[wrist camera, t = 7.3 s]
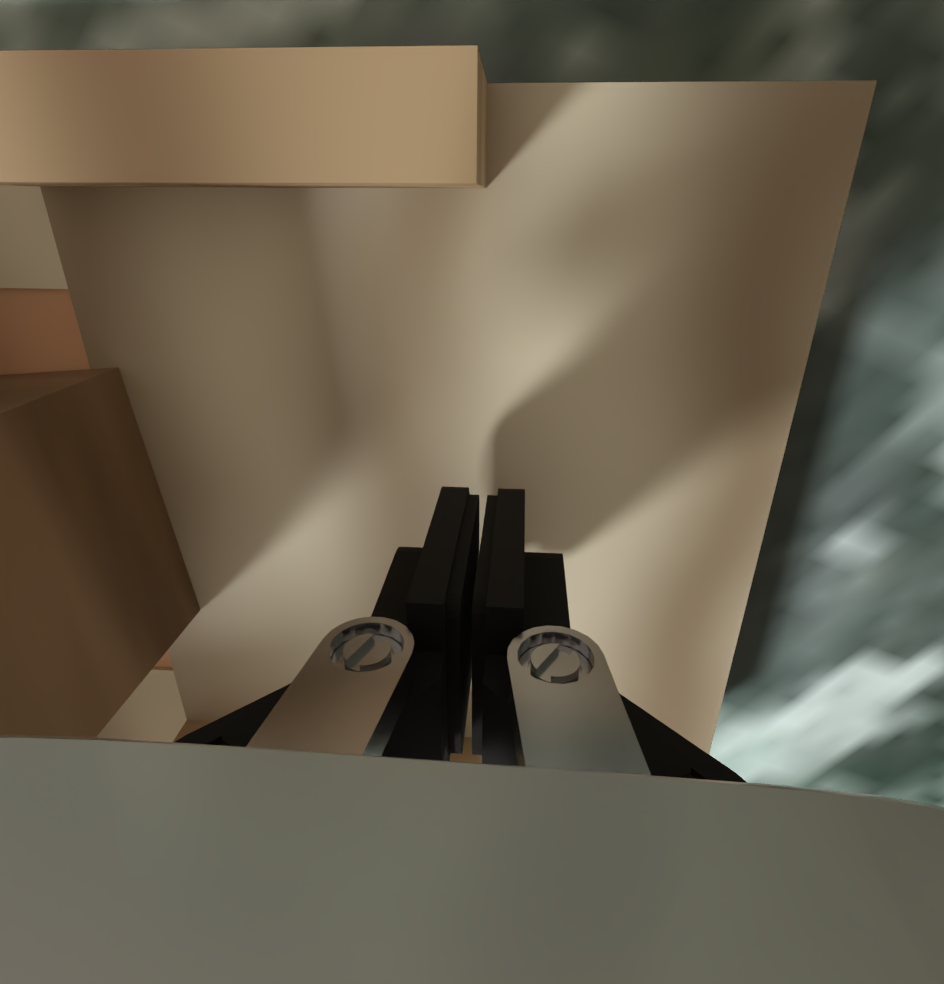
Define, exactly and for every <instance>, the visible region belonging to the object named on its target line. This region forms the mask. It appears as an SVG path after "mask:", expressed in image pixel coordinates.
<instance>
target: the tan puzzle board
mask: <svg viewBox="0 0 944 984" xmlns="http://www.w3.org/2000/svg"><path fill="white" fill-rule="evenodd" d="M876 83H877V80H868V81H727V82H586V83H487V80H486V76H485V72H484V68H483V65H482V61H481V57H480V53H479V49H478V45H466V46H375V47H285V48H194V49H104V50H13V51H0V375H9V374H24V373H40V372H55V371H70V370H85V369H100V368H115V367H118V368H119V371H120V374H121V377H122V380H123V383H124V386H125V389H126V392H127V395H128V397H129V400H130V403H131V406H132V409H133V412H134V415H135V418H136V421H137V424H138V427H139V430H140V433H141V436H142V439H143V442H144V445H145V448H146V451H147V454H148V457H149V460H150V462H151V465H152V468H153V471H154V474H155V477H156V480H157V483H158V486H159V489H160V492H161V495H162V498H163V501H164V504H165V507H166V510H167V513H168V516H169V519H170V522H171V524H172V527H173V530H174V533H175V536H176V539H177V542H178V545H179V548H180V551H181V554H182V557H183V560H184V563H185V566H186V569H187V572H188V575H189V578H190V581H191V584H192V587H193V589H194V592H195V595H196V598H197V601H198V604H199V607H200V611H199V612H198V614H197V615H196V616H195V617H194V619H193V620H192V621H191V622H190V623H189V625H188V626H187V627H186V628H185V630H184V631H183V632H182V633H181V634H180V636H179V637H178V638H177V639H176V641H175V642H174V643H173V644H172V645H171V647H170V648H169V649H168V650H167V651H166V653H165V654H164V655H163V656H162V658H161V659H160V660H159V661H158V662H157V664H156V665H155V666H154V667H153V669H152V670H151V671H150V672H149V673H148V675H147V676H146V677H145V678H144V680H143V681H142V682H141V683H140V684H139V686H138V687H137V688H136V689H135V691H134V692H133V693H132V694H131V695H130V697H129V698H128V699H127V700H126V702H125V703H124V704H123V705H122V706H121V708H120V709H119V710H118V711H117V712H116V714H115V715H114V716H113V717H112V719H111V720H110V721H109V722H108V723H107V725H106V726H105V727H104V728H103V730H102V731H101V732H100V733H99V734H98V736H97V738H113V739H129V740H144V741H160V742H175V741H177V740H178V739H180V738H182V737H183V736H185V735H187V734H189V733H191V732H193V731H195V730H197V729H199V728H201V727H203V726H205V725H207V724H209V723H211V722H213V721H215V720H217V719H219V718H221V717H223V716H225V715H227V714H229V713H231V712H233V711H235V710H237V709H240V708H242V707H244V706H246V705H248V704H250V703H252V702H254V701H256V700H258V699H260V698H262V697H264V696H266V695H268V694H270V693H272V692H274V691H276V690H278V689H280V688H282V687H284V686H286V685H288V684H290V683H292V681H293V680H294V678H295V677H296V676H297V674H298V673H299V671H300V670H301V669H302V667H303V666H304V664H305V663H306V662H307V660H308V659H309V657H310V656H311V655H312V653H313V652H314V650H315V649H316V648H317V646H318V645H319V643H320V642H321V641H322V639H323V638H324V637H325V636H326V635H327V634H328V633H329V632H330V631H331V630H332V629H334V628H335V627H337V626H339V625H340V624H342V623H345V622H348V621H350V620H353V619H356V618H363V617H371V615H372V612H373V610H374V607H375V605H376V602H377V599H378V597H379V594H380V592H381V589H382V586H383V584H384V581H385V579H386V576H387V573H388V571H389V568H390V566H391V563H392V560H393V558H394V555H395V553H396V550H397V549H398V547H422V548H423V545H424V542H425V539H426V536H427V533H428V529H429V526H430V523H431V520H432V516H433V513H434V510H435V507H436V503H437V500H438V497H439V494H440V491H441V488H442V486H444V487H469V492H470V494H472V495H479V503H480V504H479V551H480V544H481V537H482V530H483V522H484V515H485V508H486V501H487V495H498V488H502V489H525V551H524V552H541V553H562V554H563V560H564V570H565V580H566V589H567V599H568V609H569V619H570V629H574V630H576V631H579V632H581V633H583V634H585V635H587V636H588V637H589V638H591V639H592V640H593V641H594V642H595V643H597V644H598V646H599V647H600V649H601V651H602V652H603V654H604V656H605V659H606V661H607V664H608V666H609V669H610V671H611V674H612V676H613V679H614V682H615V684H616V687H617V689H618V692H619V693H620V694H621V695H623V696H624V697H626V698H627V699H629V700H630V701H631V702H633V703H634V704H636V705H637V706H639V707H640V708H642V709H643V710H645V711H646V712H647V713H649V714H650V715H652V716H653V717H655V718H656V719H658V720H659V721H661V722H662V723H664V724H665V725H666V726H668V727H669V728H671V729H672V730H674V731H675V732H677V733H678V734H680V735H681V736H682V737H684V738H685V739H687V740H688V741H690V742H691V743H693V744H694V745H696V746H697V747H698V748H700V749H701V750H703V751H704V752H706V753H707V754H709V752H710V748H711V744H712V740H713V736H714V732H715V728H716V724H717V720H718V716H719V712H720V708H721V704H722V700H723V696H724V692H725V688H726V684H727V680H728V676H729V672H730V668H731V664H732V660H733V656H734V652H735V648H736V644H737V640H738V636H739V632H740V628H741V624H742V620H743V616H744V612H745V608H746V604H747V600H748V596H749V592H750V588H751V584H752V580H753V576H754V572H755V568H756V564H757V560H758V556H759V552H760V548H761V544H762V540H763V536H764V532H765V528H766V524H767V520H768V516H769V512H770V508H771V504H772V500H773V496H774V492H775V488H776V484H777V480H778V476H779V472H780V468H781V464H782V460H783V456H784V452H785V448H786V444H787V440H788V436H789V432H790V428H791V424H792V420H793V416H794V412H795V408H796V404H797V400H798V396H799V392H800V388H801V384H802V380H803V376H804V372H805V368H806V364H807V360H808V356H809V352H810V348H811V344H812V340H813V336H814V332H815V328H816V324H817V320H818V316H819V312H820V308H821V304H822V300H823V296H824V292H825V288H826V284H827V280H828V275H829V271H830V267H831V263H832V259H833V255H834V251H835V247H836V243H837V239H838V235H839V231H840V227H841V223H842V219H843V215H844V211H845V207H846V203H847V199H848V195H849V191H850V187H851V183H852V179H853V175H854V171H855V167H856V163H857V159H858V155H859V151H860V147H861V143H862V139H863V135H864V131H865V127H866V123H867V119H868V115H869V111H870V107H871V103H872V99H873V95H874V91H875V87H876ZM450 761H457V762H471V763H482V755H472V678H471V686H470V695H469V703H468V711H467V720H466V728H465V736H464V745H463V752H462V754H456V753H451V755H450Z"/></svg>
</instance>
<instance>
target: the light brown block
mask: <svg viewBox="0 0 944 984" xmlns="http://www.w3.org/2000/svg"><path fill="white" fill-rule="evenodd" d="M199 611H200V607H199V604H198V601H197V598H196V595H195V592H194V589H193V587H192V584H191V581H190V578H189V575H188V572H187V569H186V566H185V563H184V560H183V557H182V554H181V551H180V548H179V545H178V542H177V539H176V536H175V533H174V530H173V527H172V524H171V522H170V519H169V516H168V513H167V510H166V507H165V504H164V501H163V498H162V495H161V492H160V489H159V486H158V483H157V480H156V477H155V474H154V471H153V468H152V465H151V462H150V460H149V457H148V454H147V451H146V448H145V445H144V442H143V439H142V436H141V433H140V430H139V427H138V424H137V421H136V418H135V415H134V412H133V409H132V406H131V403H130V400H129V397H128V395H127V392H126V389H125V386H124V383H123V380H122V377H121V374H120V371H119V368H118V367H115V368H100V369H85V370H70V371H55V372H40V373H24V374H9V375H0V735H39V736H71V737H97V736H98V734H99V733H100V732H101V731H102V730H103V728H104V727H105V726H106V725H107V723H108V722H109V721H110V720H111V719H112V717H113V716H114V715H115V714H116V712H117V711H118V710H119V709H120V708H121V706H122V705H123V704H124V703H125V702H126V700H127V699H128V698H129V697H130V695H131V694H132V693H133V692H134V691H135V689H136V688H137V687H138V686H139V684H140V683H141V682H142V681H143V680H144V678H145V677H146V676H147V675H148V673H149V672H150V671H151V670H152V669H153V667H154V666H155V665H156V664H157V662H158V661H159V660H160V659H161V658H162V656H163V655H164V654H165V653H166V651H167V650H168V649H169V648H170V647H171V645H172V644H173V643H174V642H175V641H176V639H177V638H178V637H179V636H180V634H181V633H182V632H183V631H184V630H185V628H186V627H187V626H188V625H189V623H190V622H191V621H192V620H193V619H194V617H195V616H196V615H197V614H198V612H199Z"/></svg>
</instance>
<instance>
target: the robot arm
mask: <svg viewBox="0 0 944 984" xmlns="http://www.w3.org/2000/svg"><path fill="white" fill-rule="evenodd" d="M479 504H480V503H479V495H472V494H470V492H469V487H444V486H442V488H441V491H440V494H439V497H438V500H437V503H436V507H435V510H434V513H433V516H432V520H431V523H430V526H429V529H428V533H427V536H426V539H425V542H424V545H423V548H422V547H398V549H397V550H396V553H395V555H394V558H393V560H392V563H391V566H390V568H389V571H388V573H387V576H386V579H385V581H384V584H383V586H382V589H381V592H380V594H379V597H378V599H377V602H376V605H375V607H374V610H373V612H372V615H371V617H363V618H356V619H353V620H350V621H348V622H345V623H342V624H340V625H339V626H337V627H335V628H334V629H332V630H331V631H330V632H329V633H328V634H327V635H326V636H325V637H324V638H323V639H322V641H321V642H320V643H319V645H318V646H317V648H316V649H315V650H314V652H313V653H312V655H311V656H310V657H309V659H308V660H307V662H306V663H305V664H304V666H303V667H302V669H301V670H300V671H299V673H298V674H297V676H296V677H295V678H294V680H293V681H292V683H290V684H288V685H286V686H284V687H282V688H280V689H278V690H276V691H274V692H272V693H270V694H268V695H266V696H264V697H262V698H260V699H258V700H256V701H254V702H252V703H250V704H248V705H246V706H244V707H242V708H240V709H237V710H235V711H233V712H231V713H229V714H227V715H225V716H223V717H221V718H219V719H217V720H215V721H213V722H211V723H209V724H207V725H205V726H203V727H201V728H199V729H197V730H195V731H193V732H191V733H189V734H187V735H185V736H183V737H182V738H180V739H178V740H177V741H175V742H160V741H144V740H129V739H113V738H97V737H71V736H39V735H0V984H944V808H943V807H939V806H935V805H931V804H925V803H919V802H914V801H908V800H902V799H897V798H891V797H885V796H879V795H869V794H860V793H850V792H841V791H831V790H822V789H812V788H803V787H794V786H784V785H772V784H758V783H747V782H746V781H745V780H743V779H742V778H741V777H740V776H739V775H737V774H736V773H735V772H733V771H732V770H731V769H729V768H728V767H726V766H725V765H723V764H722V763H720V762H719V761H717V760H716V759H715V758H713V757H712V756H710V755H709V754H707V753H706V752H704V751H703V750H701V749H700V748H698V747H697V746H696V745H694V744H693V743H691V742H690V741H688V740H687V739H685V738H684V737H682V736H681V735H680V734H678V733H677V732H675V731H674V730H672V729H671V728H669V727H668V726H666V725H665V724H664V723H662V722H661V721H659V720H658V719H656V718H655V717H653V716H652V715H650V714H649V713H647V712H646V711H645V710H643V709H642V708H640V707H639V706H637V705H636V704H634V703H633V702H631V701H630V700H629V699H627V698H626V697H624V696H623V695H621V694H620V693H619V692H618V689H617V687H616V684H615V682H614V679H613V676H612V674H611V671H610V669H609V666H608V664H607V661H606V659H605V656H604V654H603V652H602V651H601V649H600V647H599V646H598V644H597V643H595V642H594V641H593V640H592V639H591V638H589V637H588V636H587V635H585V634H583V633H581V632H579V631H576V630H574V629H570V619H569V609H568V599H567V589H566V580H565V570H564V560H563V554H562V553H541V552H524V551H525V489H502V488H498V495H487V501H486V508H485V515H484V522H483V530H482V537H481V544H480V551H479ZM471 678H472V755H482V763H471V762H457V761H450V755H451V753H456V754H462V752H463V745H464V736H465V728H466V720H467V711H468V703H469V695H470V686H471Z"/></svg>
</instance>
